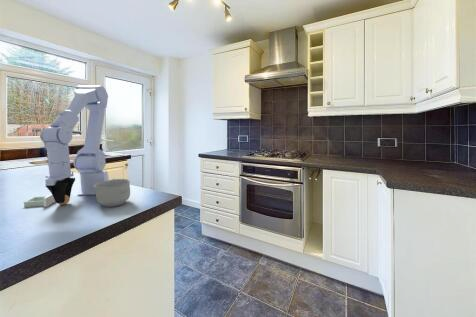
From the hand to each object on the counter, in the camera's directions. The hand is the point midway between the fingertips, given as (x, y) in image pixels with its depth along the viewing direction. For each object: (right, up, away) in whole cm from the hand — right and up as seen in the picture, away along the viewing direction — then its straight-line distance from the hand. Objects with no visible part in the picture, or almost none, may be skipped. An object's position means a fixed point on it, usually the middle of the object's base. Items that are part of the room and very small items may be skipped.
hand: (63, 200), depth 76 cm
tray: (-9, -1, +1) cm, 9 cm away
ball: (0, 0, 0) cm, 0 cm away
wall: (-5, -1, +1) cm, 6 cm away
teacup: (+16, -1, +3) cm, 17 cm away
